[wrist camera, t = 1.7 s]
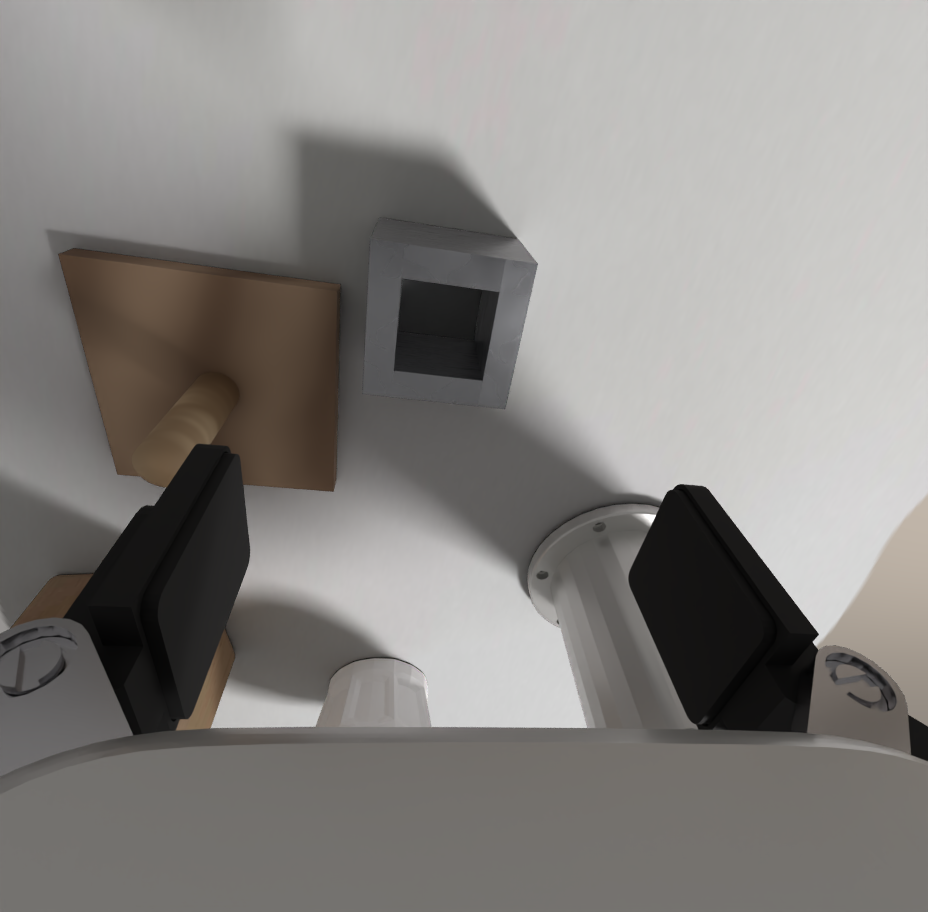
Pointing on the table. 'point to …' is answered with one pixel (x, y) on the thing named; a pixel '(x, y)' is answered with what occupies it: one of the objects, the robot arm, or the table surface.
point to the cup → (376, 696)
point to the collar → (435, 357)
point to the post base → (210, 366)
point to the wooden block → (64, 593)
